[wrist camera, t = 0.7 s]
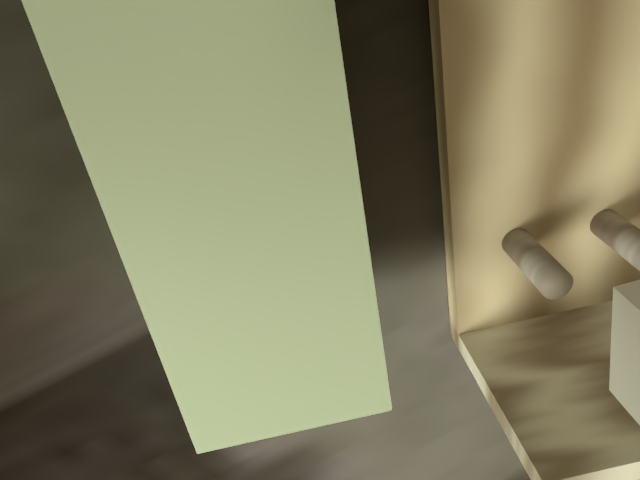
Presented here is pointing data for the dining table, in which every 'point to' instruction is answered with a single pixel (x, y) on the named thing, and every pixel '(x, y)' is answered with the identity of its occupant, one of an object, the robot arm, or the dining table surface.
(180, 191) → the shelf board
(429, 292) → the dining table surface
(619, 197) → the shelf stand
